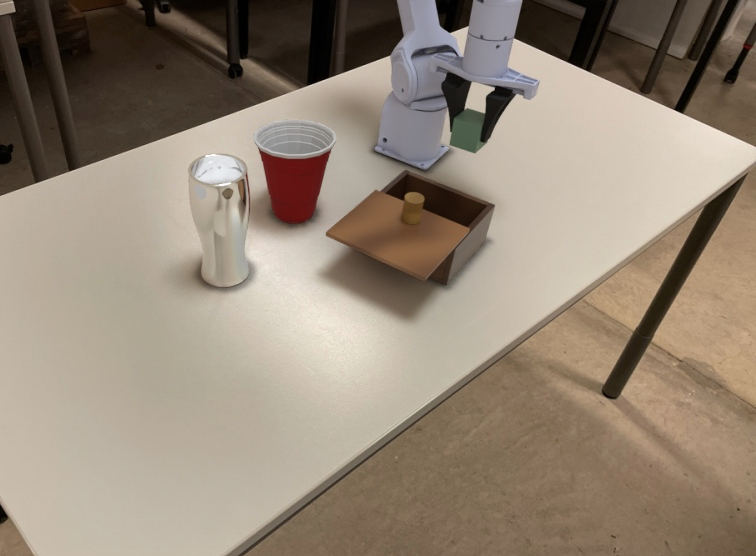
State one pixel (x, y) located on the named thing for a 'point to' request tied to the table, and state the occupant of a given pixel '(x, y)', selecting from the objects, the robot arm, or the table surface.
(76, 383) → the table surface
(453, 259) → the box
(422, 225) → the lid
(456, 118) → the block
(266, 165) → the plastic cup
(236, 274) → the beer glass
